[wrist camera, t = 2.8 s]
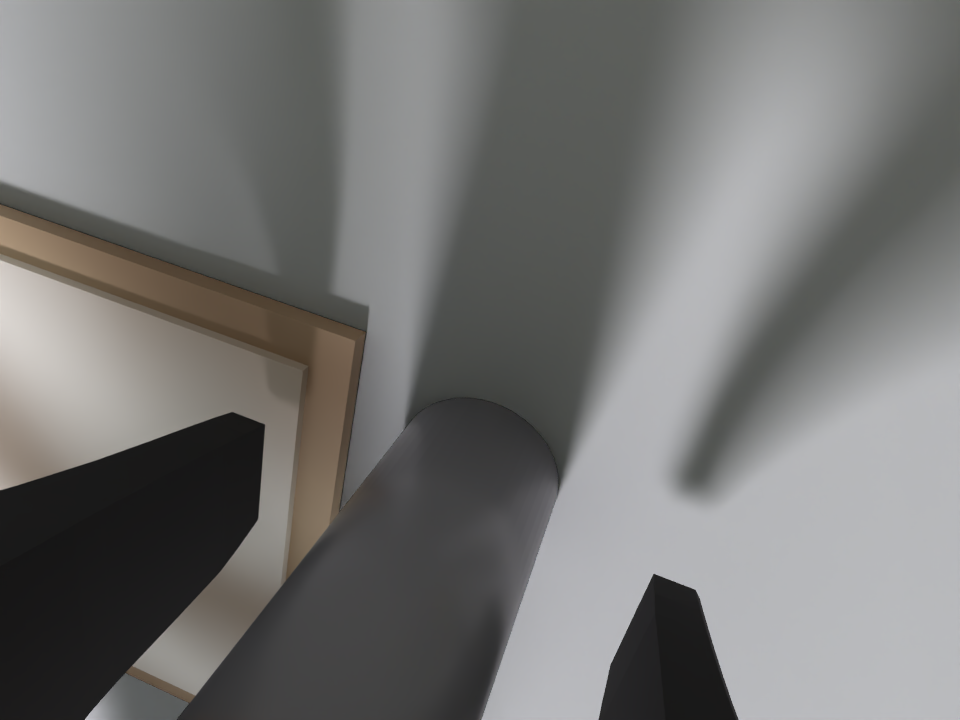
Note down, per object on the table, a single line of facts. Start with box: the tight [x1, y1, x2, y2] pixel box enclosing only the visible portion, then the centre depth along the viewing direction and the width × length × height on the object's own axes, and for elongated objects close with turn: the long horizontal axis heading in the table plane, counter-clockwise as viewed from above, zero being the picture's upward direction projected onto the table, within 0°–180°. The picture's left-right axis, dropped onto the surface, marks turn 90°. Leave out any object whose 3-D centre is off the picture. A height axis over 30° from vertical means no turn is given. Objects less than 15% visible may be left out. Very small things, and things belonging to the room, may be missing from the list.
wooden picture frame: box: [0, 204, 366, 703], centre depth 16 cm, size 12×15×1 cm
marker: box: [177, 398, 559, 720], centre depth 9 cm, size 3×3×8 cm
